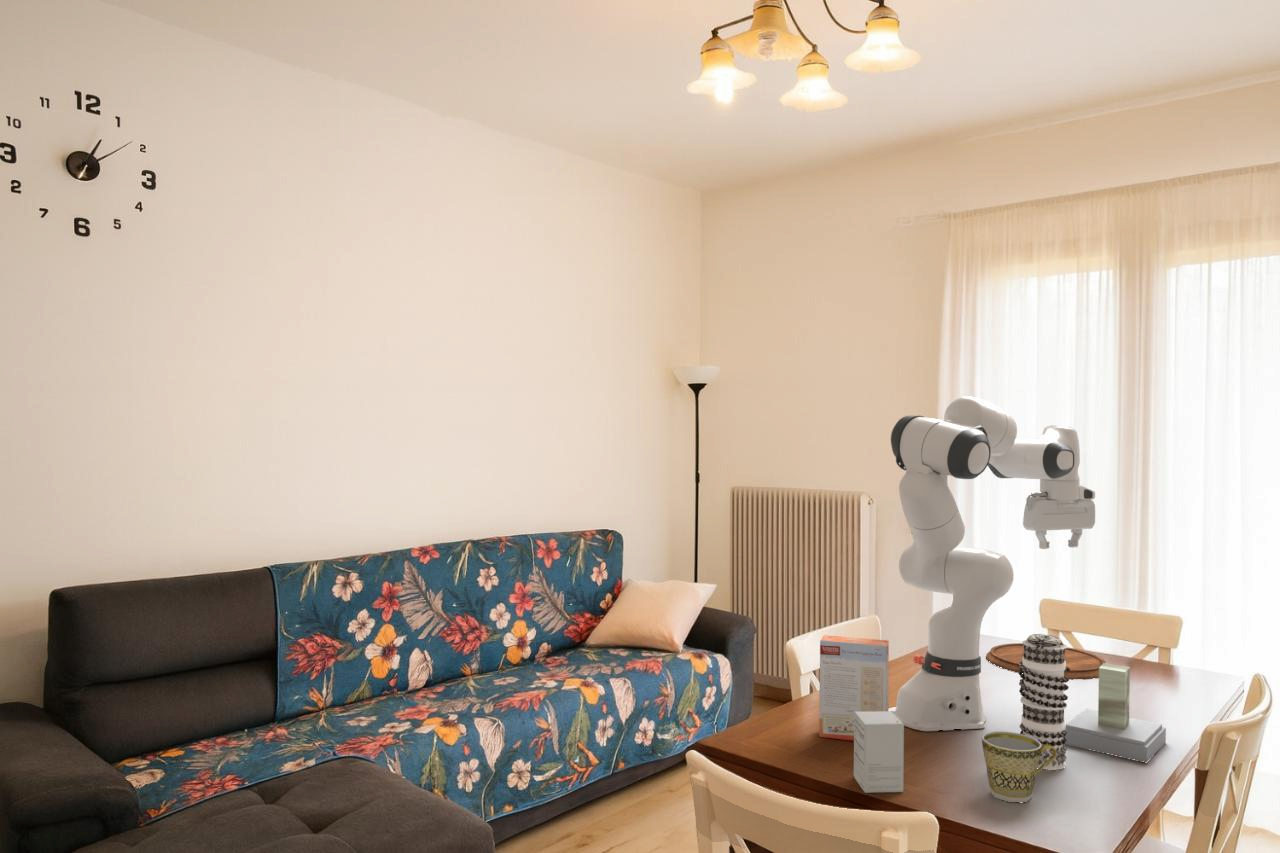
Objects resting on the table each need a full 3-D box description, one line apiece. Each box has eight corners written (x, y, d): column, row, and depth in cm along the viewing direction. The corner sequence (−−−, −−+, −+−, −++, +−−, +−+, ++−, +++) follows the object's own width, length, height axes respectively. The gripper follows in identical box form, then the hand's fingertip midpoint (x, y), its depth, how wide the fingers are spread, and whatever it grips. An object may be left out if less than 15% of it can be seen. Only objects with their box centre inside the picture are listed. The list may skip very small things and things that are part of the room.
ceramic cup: (992, 807, 156) (993, 749, 156) (973, 784, 166) (973, 730, 166) (1068, 809, 155) (1068, 751, 155) (1043, 786, 165) (1044, 732, 165)
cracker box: (888, 736, 191) (889, 639, 191) (886, 746, 185) (887, 645, 185) (822, 728, 195) (823, 633, 195) (818, 737, 190) (819, 639, 190)
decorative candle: (1024, 750, 184) (1026, 629, 184) (1073, 761, 178) (1075, 636, 178) (1011, 763, 176) (1012, 636, 176) (1061, 775, 171) (1062, 644, 171)
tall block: (1124, 730, 185) (1125, 672, 185) (1098, 724, 188) (1098, 667, 188) (1129, 723, 189) (1129, 667, 189) (1103, 718, 192) (1103, 663, 192)
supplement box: (891, 777, 169) (892, 710, 169) (904, 793, 161) (905, 723, 161) (852, 777, 168) (853, 710, 168) (863, 793, 161) (864, 723, 161)
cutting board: (961, 656, 260) (961, 648, 260) (1040, 646, 274) (1040, 638, 274) (1054, 686, 231) (1054, 676, 231) (1136, 673, 245) (1136, 664, 245)
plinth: (1146, 763, 177) (1147, 743, 177) (1061, 743, 188) (1061, 724, 188) (1165, 743, 189) (1165, 724, 189) (1084, 725, 200) (1084, 707, 200)
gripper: (1037, 493, 213) (1036, 551, 213) (1100, 492, 220) (1099, 548, 220) (1017, 491, 219) (1016, 547, 219) (1079, 490, 226) (1078, 544, 226)
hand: (1058, 547), depth 220 cm, fingers open, 8 cm apart
